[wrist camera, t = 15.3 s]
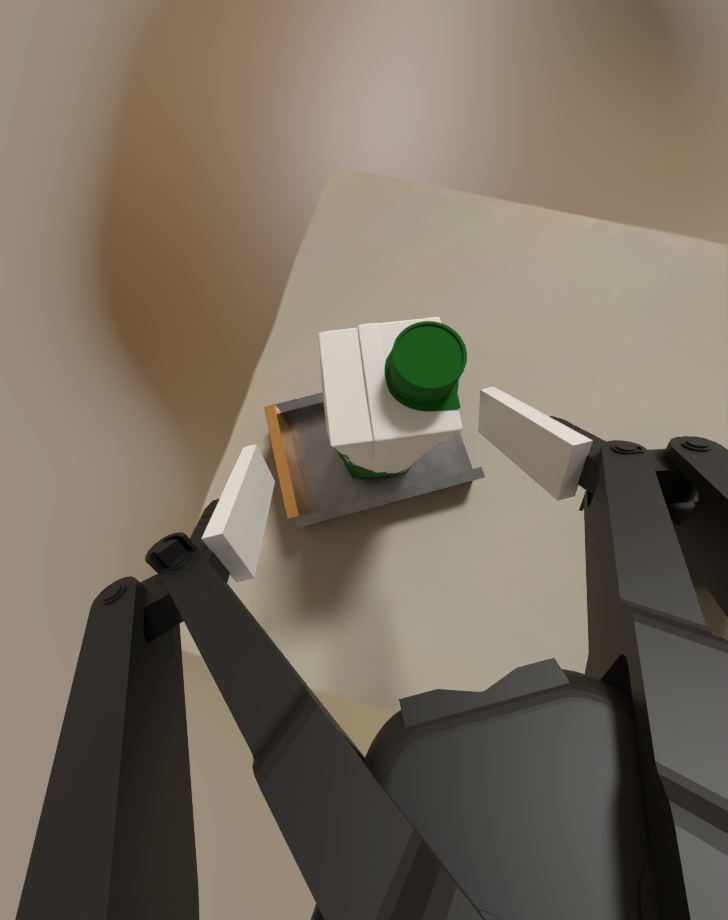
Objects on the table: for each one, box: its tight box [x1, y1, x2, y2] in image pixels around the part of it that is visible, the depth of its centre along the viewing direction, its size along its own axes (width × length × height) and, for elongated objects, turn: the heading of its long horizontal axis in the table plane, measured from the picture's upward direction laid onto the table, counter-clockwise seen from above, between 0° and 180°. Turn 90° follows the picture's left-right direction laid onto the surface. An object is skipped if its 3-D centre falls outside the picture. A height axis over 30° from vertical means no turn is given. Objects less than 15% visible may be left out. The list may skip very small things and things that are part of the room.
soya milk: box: [319, 317, 467, 478], centre depth 24 cm, size 9×9×20 cm
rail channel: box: [264, 392, 485, 529], centre depth 32 cm, size 22×15×6 cm
